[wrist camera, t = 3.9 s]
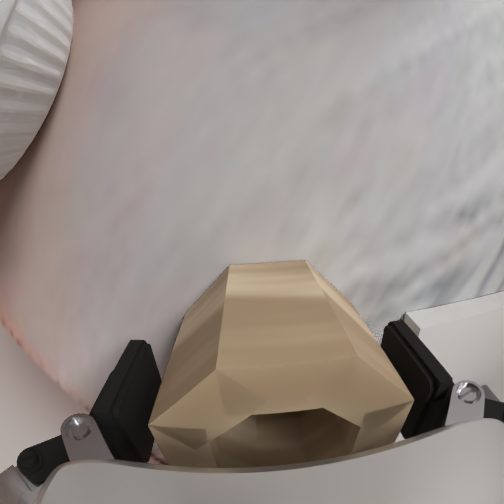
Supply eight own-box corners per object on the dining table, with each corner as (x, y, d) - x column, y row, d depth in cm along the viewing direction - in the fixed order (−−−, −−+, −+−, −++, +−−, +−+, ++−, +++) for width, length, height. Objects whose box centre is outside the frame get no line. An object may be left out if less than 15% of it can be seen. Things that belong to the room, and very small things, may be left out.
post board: (405, 312, 12) (537, 482, 2) (548, 277, 12) (634, 338, 2) (355, 469, 17) (384, 573, 7) (488, 417, 17) (532, 484, 7)
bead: (177, 268, 11) (122, 366, 5) (354, 256, 11) (435, 339, 5) (202, 395, 13) (188, 496, 7) (339, 384, 13) (373, 479, 8)
